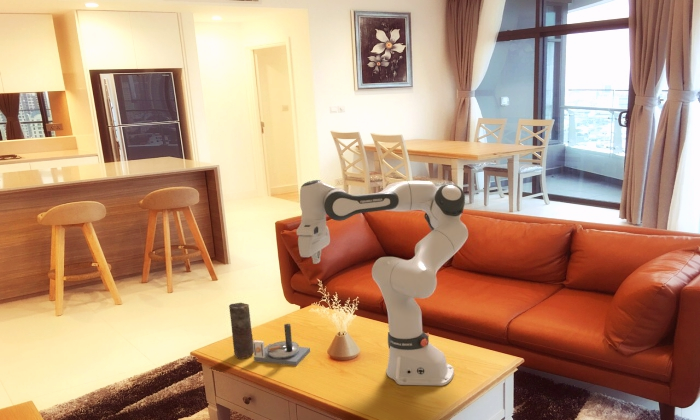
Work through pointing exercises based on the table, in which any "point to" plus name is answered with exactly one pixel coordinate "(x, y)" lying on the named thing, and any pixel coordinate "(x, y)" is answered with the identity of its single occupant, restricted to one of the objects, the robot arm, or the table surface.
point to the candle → (241, 330)
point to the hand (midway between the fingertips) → (316, 262)
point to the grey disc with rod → (284, 346)
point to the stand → (262, 356)
